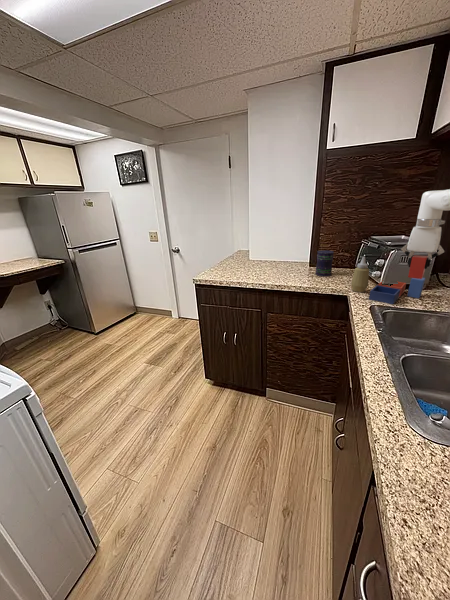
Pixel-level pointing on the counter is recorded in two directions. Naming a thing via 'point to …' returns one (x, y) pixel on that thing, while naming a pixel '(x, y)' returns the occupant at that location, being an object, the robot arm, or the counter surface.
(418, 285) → the blue block
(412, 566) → the counter surface
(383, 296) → the blue bin
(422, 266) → the red block
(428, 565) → the counter surface
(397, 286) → the red bin
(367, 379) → the counter surface
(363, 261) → the squeeze bottle
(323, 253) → the storage jar
